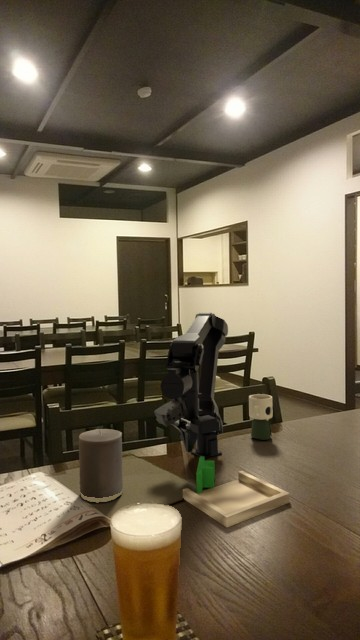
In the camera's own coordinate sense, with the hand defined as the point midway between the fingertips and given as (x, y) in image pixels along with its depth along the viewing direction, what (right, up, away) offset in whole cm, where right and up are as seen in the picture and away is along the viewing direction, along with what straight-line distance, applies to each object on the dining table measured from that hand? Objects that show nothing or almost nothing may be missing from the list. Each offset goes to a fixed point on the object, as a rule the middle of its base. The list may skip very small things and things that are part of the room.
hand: (188, 451), depth 110 cm
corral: (+9, -6, -14) cm, 18 cm away
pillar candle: (-20, -7, -9) cm, 23 cm away
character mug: (+23, -4, +26) cm, 35 cm away
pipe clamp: (+4, -6, -6) cm, 9 cm away
